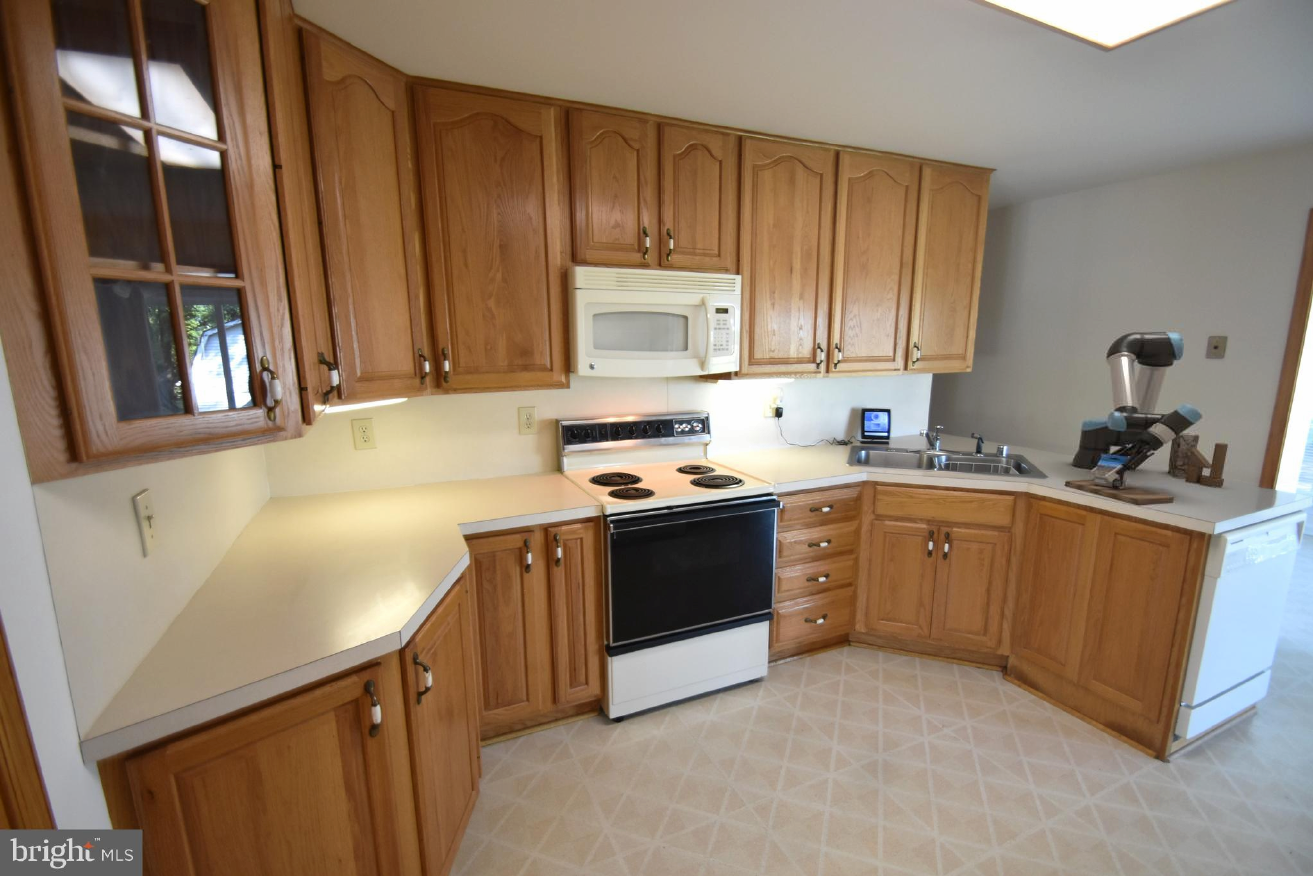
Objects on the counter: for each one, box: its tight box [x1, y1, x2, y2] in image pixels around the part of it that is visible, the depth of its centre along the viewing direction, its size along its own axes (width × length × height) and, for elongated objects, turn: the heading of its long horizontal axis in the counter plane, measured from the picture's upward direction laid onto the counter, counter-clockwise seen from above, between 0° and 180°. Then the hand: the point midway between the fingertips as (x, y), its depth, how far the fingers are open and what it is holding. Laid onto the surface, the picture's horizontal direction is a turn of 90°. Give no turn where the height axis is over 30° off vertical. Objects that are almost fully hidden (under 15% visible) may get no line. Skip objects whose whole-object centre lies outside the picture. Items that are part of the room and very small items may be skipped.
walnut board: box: [1064, 478, 1175, 506], centre depth 206 cm, size 28×16×2 cm, turn 12°
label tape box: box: [1094, 454, 1129, 489], centre depth 208 cm, size 9×4×12 cm, turn 35°
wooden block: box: [1185, 442, 1229, 488], centre depth 219 cm, size 4×11×18 cm, turn 16°
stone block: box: [1167, 430, 1200, 480], centre depth 234 cm, size 13×7×20 cm, turn 153°
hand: (1100, 476), depth 209 cm, fingers closed on label tape box, 8 cm apart
